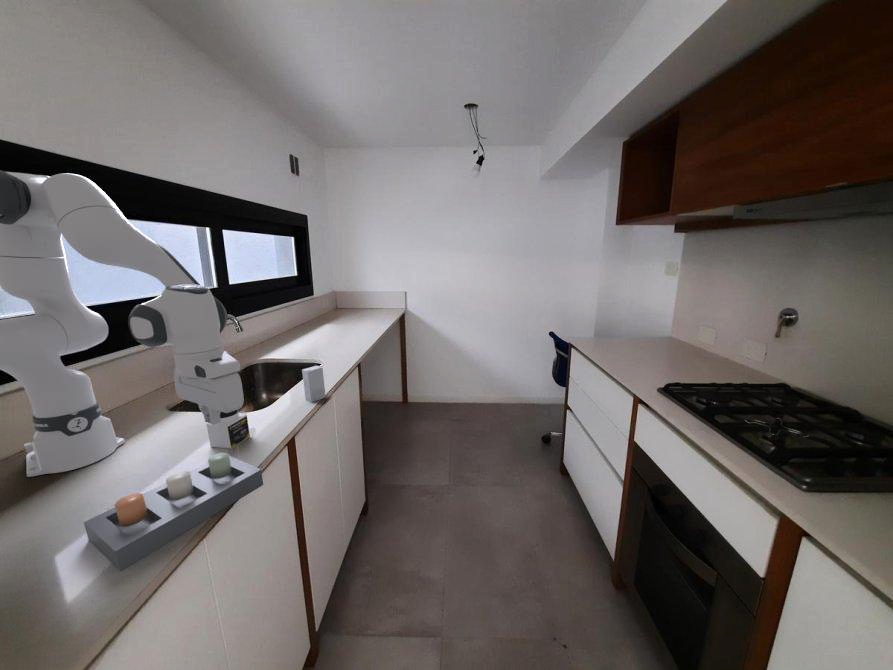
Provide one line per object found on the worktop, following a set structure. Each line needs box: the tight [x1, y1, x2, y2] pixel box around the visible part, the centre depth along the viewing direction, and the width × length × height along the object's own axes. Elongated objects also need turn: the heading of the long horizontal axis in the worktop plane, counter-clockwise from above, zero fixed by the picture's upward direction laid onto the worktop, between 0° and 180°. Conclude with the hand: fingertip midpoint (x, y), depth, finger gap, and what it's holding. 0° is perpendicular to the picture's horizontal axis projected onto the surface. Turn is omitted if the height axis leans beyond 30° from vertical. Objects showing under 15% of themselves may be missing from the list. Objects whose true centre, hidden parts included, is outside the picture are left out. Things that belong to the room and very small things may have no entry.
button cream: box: [165, 470, 194, 500], centre depth 73 cm, size 4×4×4 cm
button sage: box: [207, 452, 232, 479], centre depth 80 cm, size 4×4×4 cm
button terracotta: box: [114, 492, 148, 527], centre depth 66 cm, size 4×4×4 cm
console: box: [83, 455, 264, 572], centre depth 74 cm, size 14×26×4 cm, turn 151°
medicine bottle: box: [206, 409, 251, 450], centre depth 100 cm, size 7×7×12 cm
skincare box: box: [301, 365, 327, 403], centre depth 130 cm, size 6×4×12 cm
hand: (213, 422), depth 77 cm, fingers closed
